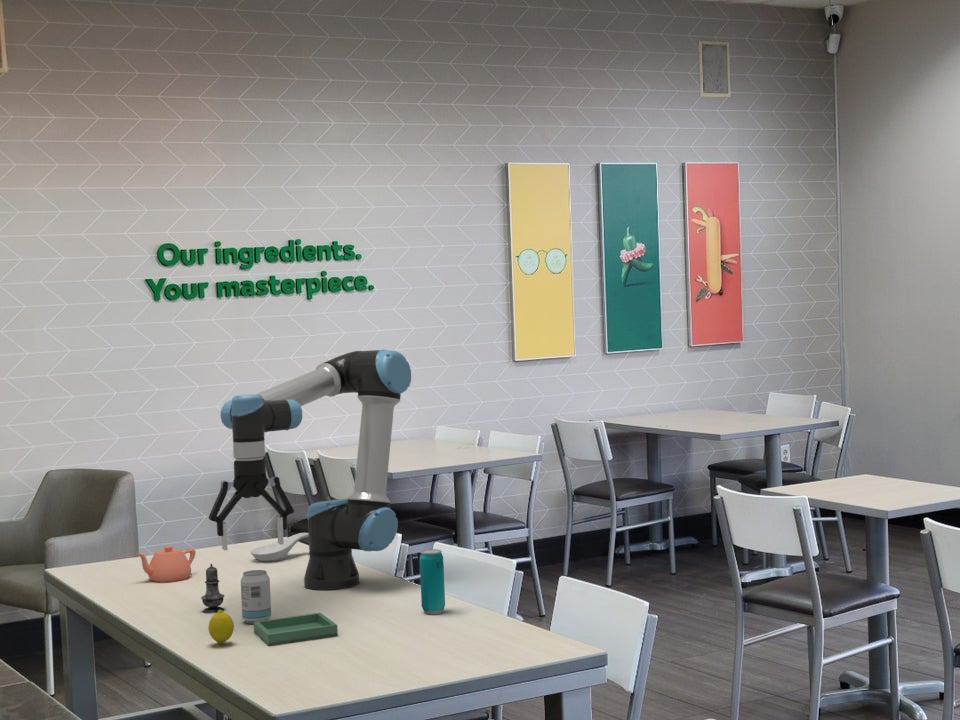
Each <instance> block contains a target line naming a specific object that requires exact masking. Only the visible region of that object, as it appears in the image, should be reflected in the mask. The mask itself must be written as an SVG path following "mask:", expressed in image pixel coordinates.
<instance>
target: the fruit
mask: <svg viewBox="0 0 960 720" xmlns="http://www.w3.org/2000/svg"><path fill="white" fill-rule="evenodd" d="M234 630H235V625H234V621H233V618H232V616H231V615H230V614H228V613H226V612H224V610H223V611H222V610H221V609H220V610H219V611H218V612H217V613H214V615H212V616H211V618H210V621H209V622H208V632H209V635H210V637H211V638H212V640H214V641H215V642H216V643H217V644H218V645H220V646H221V645H224V644H225V643H226V642H227V641H229V640H230V638H232V635H233V633H234Z"/></svg>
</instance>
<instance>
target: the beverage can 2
mask: <svg viewBox="0 0 960 720" xmlns="http://www.w3.org/2000/svg"><path fill="white" fill-rule="evenodd" d="M442 552H443V551H442V549H437V548H434V549H433V548H432V549H423V550H421V551H420V556H419V574H420V576H419V577H420V578H419V580H420V598H421V601H420V602H421V609H422V610H423V612H424V614H425V615H430V614H434V615H439V614H442V613H443V612H444V610H445V607H446V592H445V591H446V590H445V588H446V587H445V570H444V569H445V567H444V556H443V553H442Z"/></svg>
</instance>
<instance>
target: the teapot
mask: <svg viewBox="0 0 960 720" xmlns="http://www.w3.org/2000/svg"><path fill="white" fill-rule="evenodd" d="M163 548H164V549H162V550H161V549H160V550H158V551H155V553H154V554H153V556H152V557H151V560H150V561H149V562H148V559H147V557H146V554H144V553H138V552H136V553H135V555H137V556H139V557H140V559H141V564H142V565H141V566H142V569H143V571H144V572H145V573H146V575H148V578H149V579H150V580H151V581H152V582H153V581H154V583H160V582H166V583H173V582H172V581H175V582H179V580H181V581H184V580H183V579H185V580H187V579H188V578H189V577H190V575H191V574H192V568H191V564H193V561H194V559H195V556H196V549H195V548H190V549H186V550H181V549H177V548H176V549H175V548H174V546H172V545H167V546H166V545H164V547H163ZM186 554H189V558H188V557H187V555H186ZM186 578H187V579H186Z"/></svg>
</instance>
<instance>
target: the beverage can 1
mask: <svg viewBox="0 0 960 720" xmlns="http://www.w3.org/2000/svg"><path fill="white" fill-rule="evenodd" d="M240 595H241V597H240V598H241V617H242V618H241V619H242V620H243V621H244V622H246V624H249V625H254V621H262V620H269V619H272V618H271V617H272V604H271V603H272V601H271V599H272V597H271V579H270V576H269V575H268V573H267V570H264V569H253V570H247V571H244V572H243V573H242V577H241V578H240Z"/></svg>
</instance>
